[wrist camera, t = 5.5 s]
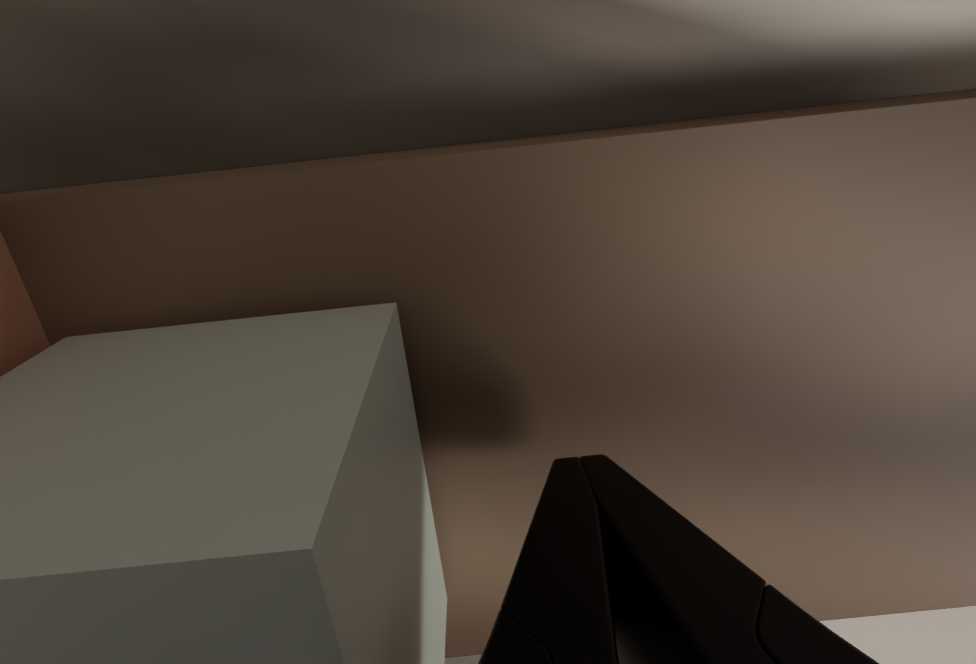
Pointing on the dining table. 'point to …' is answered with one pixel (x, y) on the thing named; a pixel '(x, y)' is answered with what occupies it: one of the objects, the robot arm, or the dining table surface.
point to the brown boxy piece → (607, 324)
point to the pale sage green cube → (219, 497)
